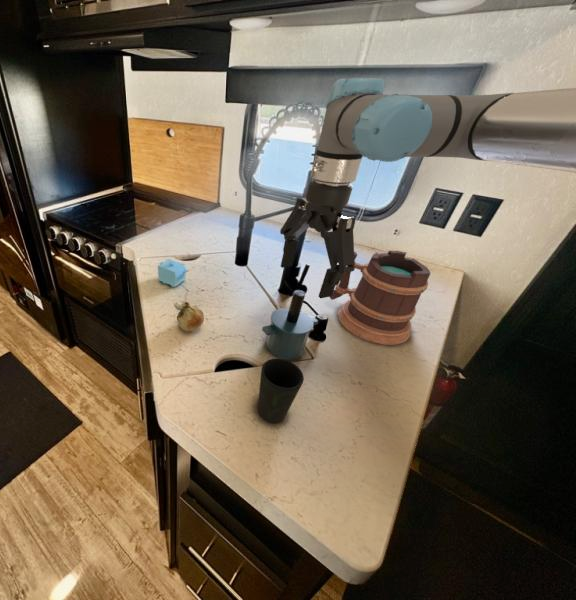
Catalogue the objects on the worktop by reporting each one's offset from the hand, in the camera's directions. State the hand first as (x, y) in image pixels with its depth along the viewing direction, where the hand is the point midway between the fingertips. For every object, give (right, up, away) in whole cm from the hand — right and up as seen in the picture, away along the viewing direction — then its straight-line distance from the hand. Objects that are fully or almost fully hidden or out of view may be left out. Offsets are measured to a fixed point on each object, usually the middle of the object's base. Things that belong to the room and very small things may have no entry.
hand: (304, 280), depth 69 cm
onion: (-25, -12, +19) cm, 33 cm away
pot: (0, -17, +12) cm, 21 cm away
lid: (0, -10, +7) cm, 12 cm away
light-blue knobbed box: (-29, +2, +38) cm, 48 cm away
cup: (-8, -28, -4) cm, 30 cm away
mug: (+27, -10, +22) cm, 36 cm away
